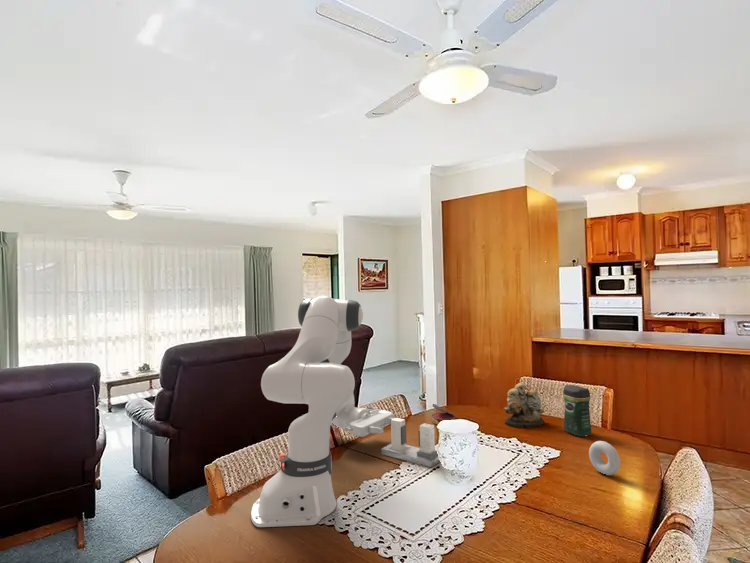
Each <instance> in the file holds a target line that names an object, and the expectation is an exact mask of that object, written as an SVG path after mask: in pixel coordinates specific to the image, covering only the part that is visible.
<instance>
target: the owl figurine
mask: <svg viewBox="0 0 750 563" xmlns="http://www.w3.org/2000/svg"><path fill="white" fill-rule="evenodd" d="M526 389H527V385H526V384H524V383H522V382H519V383H517V384H515V386H514V388H510V389H509V390H508V391H507V398H506V401H507V406H506V407H503V410H504V411H505V413H506V414H509V415H510V416H508V417H507V418H505V420H504V424H506V425H508V426H510V427H512V428H518V427H520V428H522V427H523V428H526V427H532V428H535V427H534V426H539V425H542V424H543V425H544V424H545V420H544V419H543V418H542V417H541V415H542V414H544V413H545V410H544V409H541V408H542V401H541V396H539V394H538V392H537V390H535V389H532V390H531V389H530V390H528V391H527V392H526ZM543 425H542V426H543ZM539 427H540V426H539Z"/></svg>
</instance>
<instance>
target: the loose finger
mask: <svg viewBox="0 0 750 563" xmlns="http://www.w3.org/2000/svg"><path fill="white" fill-rule="evenodd" d="M390 438H391V439H390V441H391V443H390V444H391V449H392V450H396V451H400V452H404V451H406V447H405V445H406V443H407V425H406V420H405V419H404V418H399V417H394V419H392V420H391V424H390Z"/></svg>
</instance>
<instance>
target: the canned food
mask: <svg viewBox="0 0 750 563" xmlns="http://www.w3.org/2000/svg"><path fill="white" fill-rule="evenodd" d="M432 407H433V409H436V410H438V411H440V412H436V413H432V415H431V423H432V425H434V426H438V425H437V424H438V423H439V422H440V421H442V420H451V419H455V418H456V415H455V414H454V413H451V412H449V411H447V410H446V409H444V408H442V407H440V406H439V405H437V404H434V403H433V404H432ZM455 420H456V419H455Z"/></svg>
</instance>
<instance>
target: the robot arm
mask: <svg viewBox="0 0 750 563" xmlns="http://www.w3.org/2000/svg"><path fill="white" fill-rule="evenodd" d="M363 315H364V312H363V309H362V306H361V304H360V303H359V302H358V300H357V301H356V300H353V299H349V300H346V299H341V298H340V299H339V298H332V297H331V296H327V295H321V296H320V295H319V296H317V297H315V298H312V297H311V298H306V299H304V300H303V301H302V302H300V303H299V306H298V310H297V319H298V323H299V325H300V326H301V328H300V331H299V335H298V338H297V340H296V342H295V344H294V345H293V347H292V348H291V350H289V351H288V352H287V353H286V355H285V356H284V357H282V358H280V359H279V360H278V361H277V362H275V363H273V364H270V365H269V366H268V367H267V368H266V369H265V370H264V372H263V373H262V376H261V381H260V387H261V391H262V392H261V393H262V394H263V395H264V398H266V400H268V401H272V402H275V403H276V402H277V403H281V404H298V405H299V404H300V405H301V404H305V405H308V412H307V413H305V414H302V415H301V416H298V417H297V418H296V419H294V420H293V421H292V422H291V423H290V425H289V427H288V431H287V437H288V438H287V439H288V440H287V443H288V446H287V447H288V454H286V453H285V452H281V453H280V454H279V456H278V458H279V459H278V460H279V462H280V470H279V471H277V472H276V473H275V474H274V475H273V476H272V477H271V478H269V479H268V480H267V481H266V482H265V483H264V484H263V487H262V489H261V492H260V496H259V498H258V499H257V500H255V501H254V503H253V505H252V507H251V512H250V520H251V522H252V525H254V526H255V527H257V528H271V527H272V528H275V527H276V528H277V527H296V526H297V527H300V526H314V525H317V524H318V523H319V522H320V521H321V520H322V519H323V518H324V517H326V516H328V515H330V514H332V512H334V511H335V509H336V508H337V500H336V497H335V494H334V489H333V483H332V470H333V468H332V467H333V466H332V465H333V462H332V461H333V460H332V458H333V456H332V453H331V451H330V435H331V432H330V431H331V426H332V425H331V423H333V424H334V425H336V426H337V427H336V428H338V427H339V428H338V429H342V430H345V431H349V433H350V434H351V435H353V436H357V437H359V438H363V437H367V436H368V435H370V434H380V435H381V434H383V433H384V428H385V427H387V426H389V425H391V420H392V419H394V418H395V416H394V415H395V414H394V413H393V412H391V411H389V410H384V409H377V407H376V406H371V407H357V406H355V404H356V400H355V393H354V390H355V386H356V383H355V382H356V380H355V376H354V373H353V372H352V370H351V368H350V367H349V366H347V365H343V364H342V363H343V362H344V361H345V360H346V359H347V358H348V356H349V354H350V353H351V349H352V331H356V330H358V329H359V328H360V327H361V325H362V322H363V317H364V316H363ZM336 416H337V417H336Z"/></svg>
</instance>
